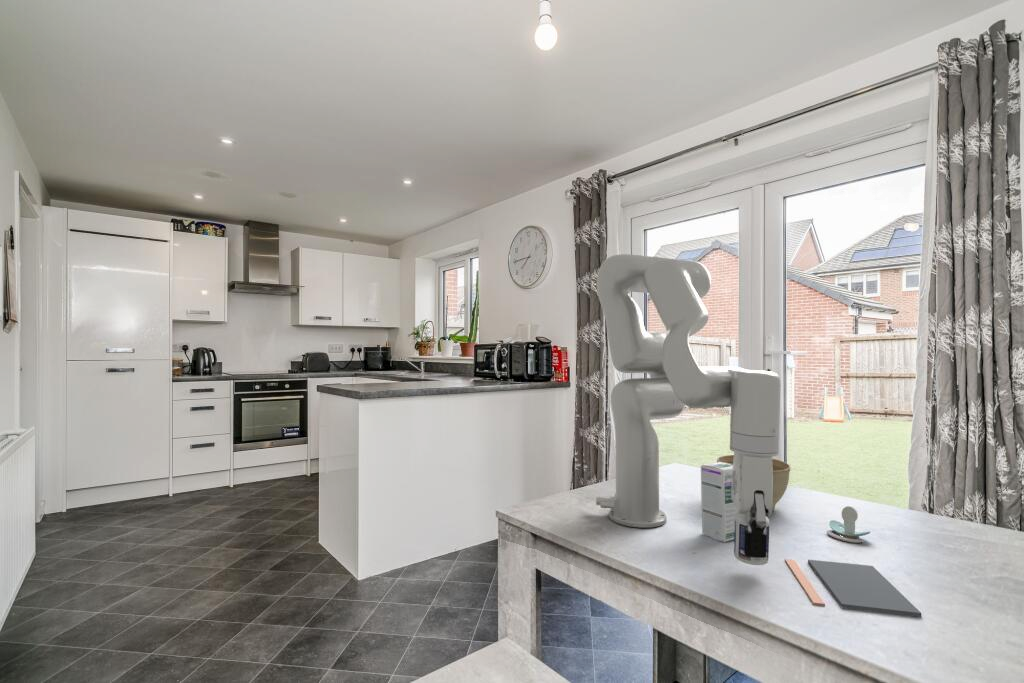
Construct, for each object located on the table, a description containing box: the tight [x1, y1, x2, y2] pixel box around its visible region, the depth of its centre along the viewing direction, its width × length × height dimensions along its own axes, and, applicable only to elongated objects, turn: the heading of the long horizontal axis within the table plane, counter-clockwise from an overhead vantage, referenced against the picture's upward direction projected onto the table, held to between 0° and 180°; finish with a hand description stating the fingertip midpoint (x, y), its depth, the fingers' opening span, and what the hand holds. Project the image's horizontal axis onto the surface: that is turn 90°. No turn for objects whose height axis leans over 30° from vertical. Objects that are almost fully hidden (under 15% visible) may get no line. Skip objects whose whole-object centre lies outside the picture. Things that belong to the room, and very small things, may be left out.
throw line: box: [784, 558, 826, 607], centre depth 82 cm, size 2×16×1 cm, turn 165°
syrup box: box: [700, 462, 738, 543], centre depth 102 cm, size 6×6×14 cm
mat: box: [807, 559, 922, 618], centre depth 80 cm, size 10×16×1 cm, turn 165°
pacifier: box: [826, 506, 871, 544], centre depth 101 cm, size 7×6×6 cm
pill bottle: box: [733, 509, 770, 566], centre depth 85 cm, size 5×5×10 cm
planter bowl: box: [716, 454, 791, 512], centre depth 121 cm, size 16×16×11 cm
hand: (751, 547), depth 85 cm, fingers closed on pill bottle, 5 cm apart
